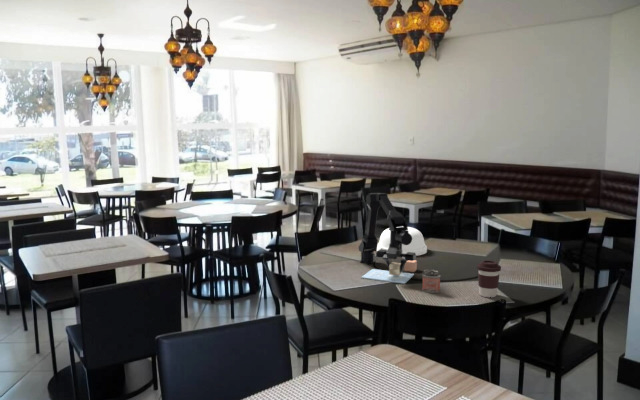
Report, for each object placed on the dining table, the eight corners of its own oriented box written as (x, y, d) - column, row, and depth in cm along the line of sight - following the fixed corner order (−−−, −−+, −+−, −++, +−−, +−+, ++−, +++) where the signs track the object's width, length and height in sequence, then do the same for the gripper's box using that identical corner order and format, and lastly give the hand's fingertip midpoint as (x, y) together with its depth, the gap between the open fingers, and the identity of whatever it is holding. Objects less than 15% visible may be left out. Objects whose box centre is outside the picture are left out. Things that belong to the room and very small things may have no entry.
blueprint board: (361, 278, 256) (361, 276, 256) (372, 270, 271) (372, 268, 271) (404, 283, 247) (404, 282, 247) (413, 275, 261) (414, 273, 261)
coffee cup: (472, 292, 234) (473, 259, 232) (494, 291, 235) (495, 258, 233) (481, 299, 224) (482, 265, 222) (503, 298, 225) (505, 264, 223)
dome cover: (405, 242, 334) (405, 221, 332) (439, 252, 309) (439, 228, 307) (365, 249, 318) (365, 226, 316) (397, 259, 292) (397, 235, 290)
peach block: (404, 271, 269) (404, 261, 268) (407, 268, 273) (407, 259, 273) (413, 272, 267) (414, 262, 266) (416, 269, 271) (416, 260, 271)
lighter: (440, 291, 236) (441, 269, 235) (439, 293, 233) (440, 271, 231) (422, 289, 239) (423, 268, 237) (421, 291, 235) (421, 270, 234)
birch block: (389, 274, 256) (389, 264, 255) (392, 271, 260) (392, 262, 260) (399, 275, 254) (399, 265, 253) (402, 273, 258) (402, 263, 257)
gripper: (372, 242, 251) (372, 273, 254) (410, 246, 243) (409, 278, 246) (380, 237, 261) (379, 268, 264) (416, 241, 253) (415, 272, 256)
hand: (395, 271), depth 257 cm, fingers closed on birch block, 5 cm apart
